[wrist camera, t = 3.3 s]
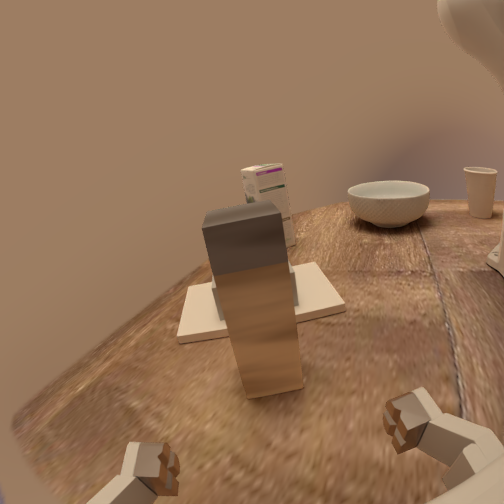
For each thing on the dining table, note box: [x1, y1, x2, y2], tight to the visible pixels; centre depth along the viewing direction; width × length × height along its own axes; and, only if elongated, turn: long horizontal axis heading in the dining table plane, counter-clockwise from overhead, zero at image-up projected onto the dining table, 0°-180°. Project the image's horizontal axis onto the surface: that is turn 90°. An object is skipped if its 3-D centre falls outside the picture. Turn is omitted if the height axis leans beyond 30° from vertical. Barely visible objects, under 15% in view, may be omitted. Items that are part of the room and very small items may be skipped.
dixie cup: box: [464, 167, 497, 219], centre depth 47 cm, size 8×8×10 cm
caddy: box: [177, 260, 345, 344], centre depth 35 cm, size 12×18×5 cm, turn 95°
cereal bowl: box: [348, 181, 430, 228], centre depth 53 cm, size 17×17×7 cm
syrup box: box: [241, 164, 296, 248], centre depth 50 cm, size 6×6×14 cm
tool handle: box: [202, 200, 304, 399], centre depth 21 cm, size 4×4×14 cm
